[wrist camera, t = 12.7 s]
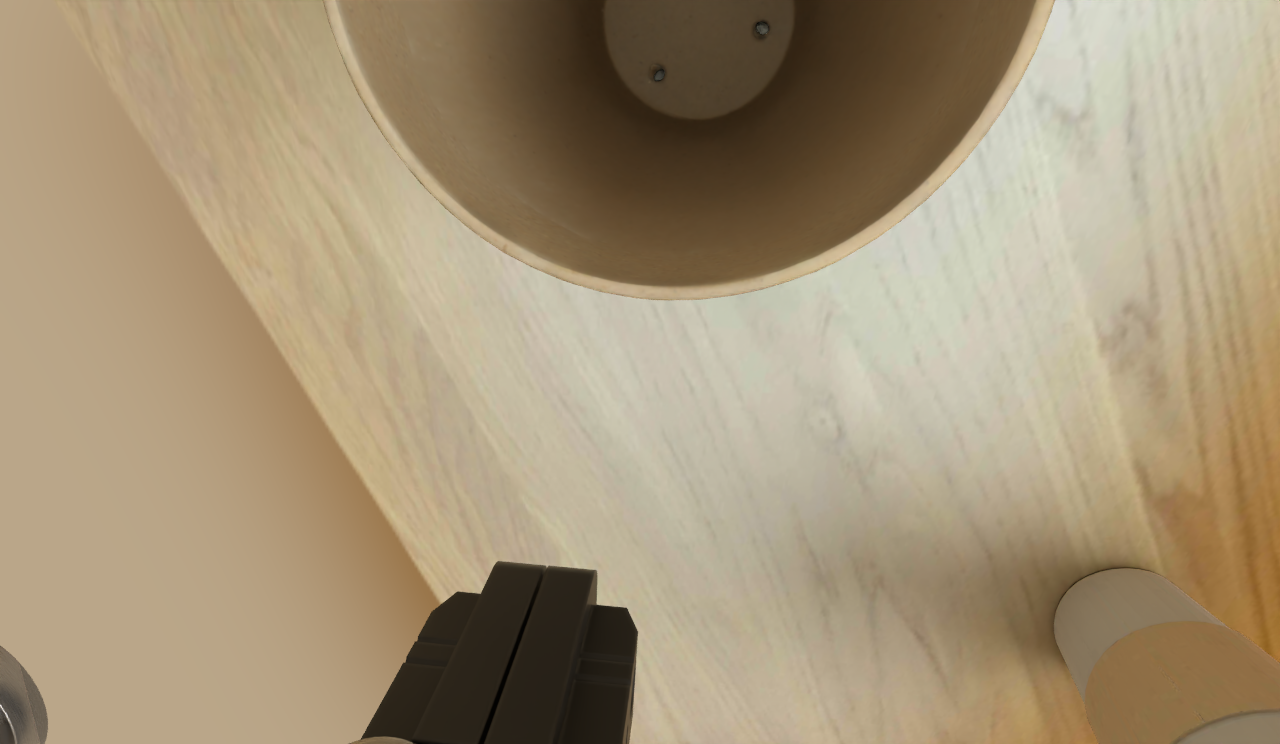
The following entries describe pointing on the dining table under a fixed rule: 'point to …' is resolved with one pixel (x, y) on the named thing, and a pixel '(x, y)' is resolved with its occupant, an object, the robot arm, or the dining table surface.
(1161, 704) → the coffee cup
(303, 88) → the dining table surface
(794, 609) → the dining table surface
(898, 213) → the plant pot
